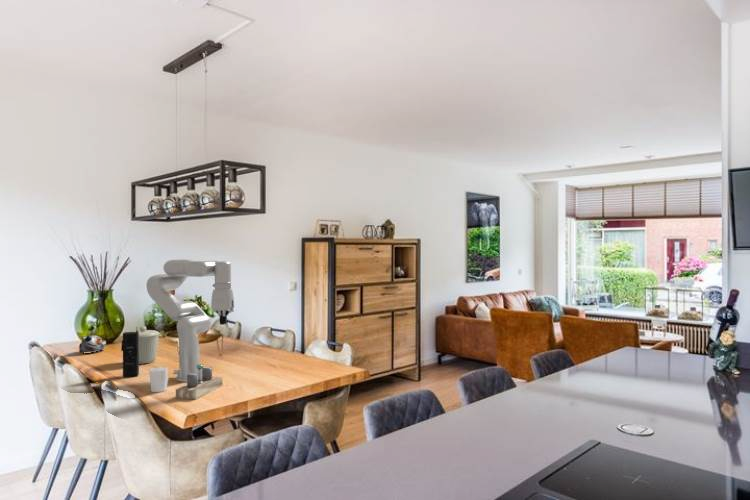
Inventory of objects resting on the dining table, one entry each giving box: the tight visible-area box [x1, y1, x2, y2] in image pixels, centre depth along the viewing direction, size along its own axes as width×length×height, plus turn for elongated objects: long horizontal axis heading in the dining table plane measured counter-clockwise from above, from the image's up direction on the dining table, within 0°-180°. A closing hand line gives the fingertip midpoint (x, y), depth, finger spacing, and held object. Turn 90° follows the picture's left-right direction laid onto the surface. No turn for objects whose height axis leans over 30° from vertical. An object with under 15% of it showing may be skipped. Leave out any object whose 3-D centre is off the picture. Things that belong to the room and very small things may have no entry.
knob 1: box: [186, 373, 198, 388], centre depth 218 cm, size 4×4×10 cm
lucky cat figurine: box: [78, 335, 107, 353], centre depth 311 cm, size 15×12×14 cm
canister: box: [133, 325, 161, 365], centre depth 283 cm, size 18×18×21 cm
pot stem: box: [197, 363, 204, 384], centre depth 223 cm, size 3×3×8 cm
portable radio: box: [120, 327, 140, 378], centre depth 252 cm, size 8×6×25 cm
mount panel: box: [175, 376, 223, 400], centre depth 223 cm, size 10×22×4 cm, turn 168°
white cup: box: [149, 366, 169, 393], centre depth 226 cm, size 8×8×10 cm
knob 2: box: [202, 366, 213, 380], centre depth 229 cm, size 4×4×10 cm
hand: (223, 324), depth 236 cm, fingers closed
